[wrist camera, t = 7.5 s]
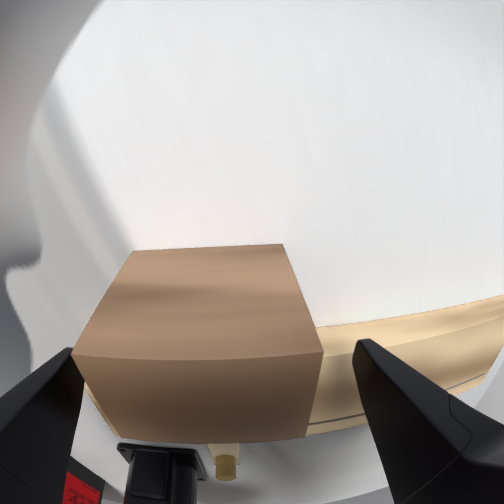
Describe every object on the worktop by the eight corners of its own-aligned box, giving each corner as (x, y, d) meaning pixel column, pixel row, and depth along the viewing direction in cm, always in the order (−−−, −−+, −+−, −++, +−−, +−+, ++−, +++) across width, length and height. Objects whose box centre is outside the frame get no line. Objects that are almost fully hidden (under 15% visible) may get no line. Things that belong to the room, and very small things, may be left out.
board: (468, 367, 17) (480, 384, 15) (121, 411, 16) (115, 435, 14) (503, 294, 14) (520, 310, 12) (82, 332, 13) (68, 359, 11)
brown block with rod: (275, 409, 16) (288, 495, 11) (178, 412, 16) (169, 497, 10) (282, 243, 12) (324, 351, 6) (132, 251, 11) (70, 353, 6)
